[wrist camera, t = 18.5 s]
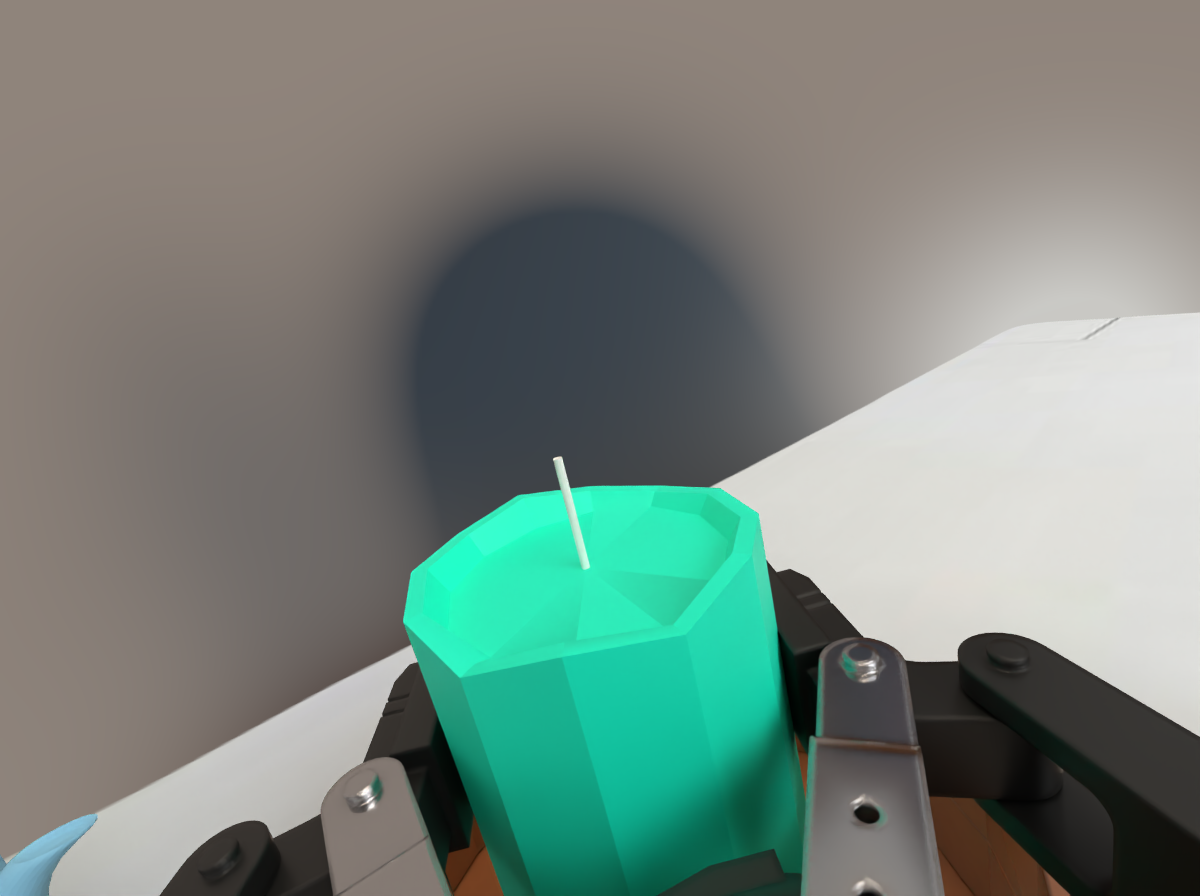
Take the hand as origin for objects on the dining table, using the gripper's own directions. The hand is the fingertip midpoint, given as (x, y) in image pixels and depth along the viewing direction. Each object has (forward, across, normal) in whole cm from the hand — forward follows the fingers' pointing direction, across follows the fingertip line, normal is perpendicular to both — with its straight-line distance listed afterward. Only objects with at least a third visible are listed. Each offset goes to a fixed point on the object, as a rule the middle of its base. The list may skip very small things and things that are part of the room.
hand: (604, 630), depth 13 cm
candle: (-2, 0, +7) cm, 8 cm away
